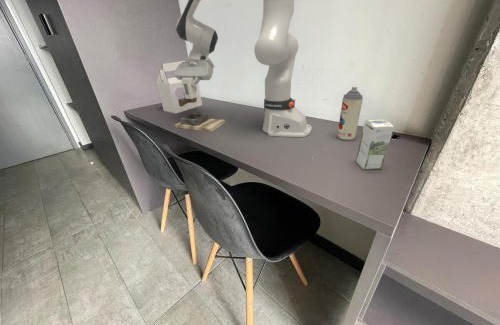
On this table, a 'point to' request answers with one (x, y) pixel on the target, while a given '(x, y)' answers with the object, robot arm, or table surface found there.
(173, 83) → the gable box
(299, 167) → the table surface
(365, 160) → the syrup box
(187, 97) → the plug block
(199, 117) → the dock board
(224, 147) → the table surface
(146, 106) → the table surface
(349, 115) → the aerosol can
